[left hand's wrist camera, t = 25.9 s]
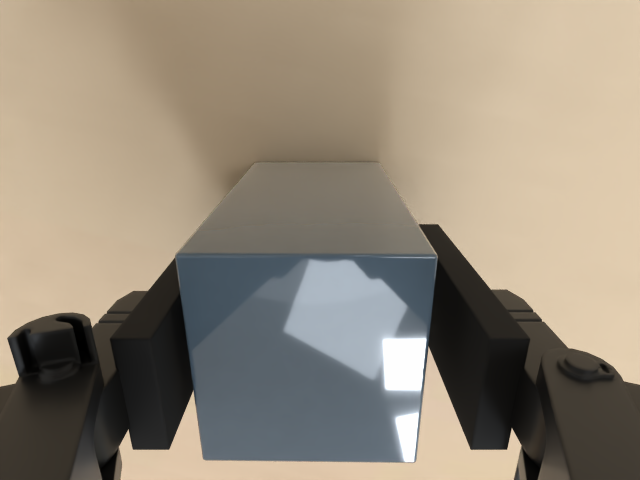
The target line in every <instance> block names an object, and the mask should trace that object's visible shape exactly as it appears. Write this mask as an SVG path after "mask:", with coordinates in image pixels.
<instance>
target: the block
mask: <svg viewBox="0 0 640 480" xmlns="http://www.w3.org/2000/svg"><path fill="white" fill-rule="evenodd" d="M175 258H176V266H177V273H178V280H179V288H180V295H181V302H182V309H183V317H184V324H185V331H186V339H187V346H188V353H189V361H190V368H191V375H192V382H193V390H194V397H195V404H196V412H197V419H198V426H199V434H200V441H201V448H202V455H203V459H204V460H209V461H296V462H383V463H414V462H416V459H417V450H418V440H419V431H420V421H421V412H422V402H423V393H424V383H425V374H426V364H427V355H428V345H429V336H430V326H431V317H432V307H433V298H434V288H435V279H436V269H437V260H438V256H437V254H436V252H435V251H434V249H433V247H432V246H431V244H430V243H429V241H428V239H427V238H426V236H425V235H424V233H423V231H422V230H421V228H420V227H419V225H418V223H417V222H416V220H415V219H414V217H413V215H412V214H411V212H410V211H409V209H408V207H407V206H406V204H405V202H404V201H403V199H402V198H401V196H400V194H399V193H398V191H397V190H396V188H395V186H394V185H393V183H392V182H391V180H390V178H389V177H388V175H387V174H386V172H385V170H384V169H383V167H382V166H381V164H380V163H379V162H255V163H254V164H253V165H252V166H251V167H250V169H249V170H248V171H247V172H246V173H245V174H244V176H243V177H242V178H241V179H240V180H239V181H238V182H237V184H236V185H235V186H234V187H233V188H232V189H231V191H230V192H229V193H228V194H227V195H226V196H225V197H224V199H223V200H222V201H221V202H220V203H219V204H218V206H217V207H216V208H215V209H214V210H213V211H212V212H211V214H210V215H209V216H208V217H207V218H206V219H205V221H204V222H203V223H202V224H201V225H200V226H199V227H198V229H197V230H196V231H195V232H194V233H193V234H192V236H191V237H190V238H189V239H188V240H187V241H186V242H185V244H184V245H183V246H182V247H181V248H180V249H179V251H178V252H177V253H176V255H175Z"/></svg>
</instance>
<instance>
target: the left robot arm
mask: <svg viewBox="0 0 640 480" xmlns="http://www.w3.org/2000/svg"><path fill="white" fill-rule="evenodd" d="M418 225H419V227H420V228H421V230H422V231H423V233H424V235H425V236H426V238H427V239H428V241H429V243H430V244H431V246H432V247H433V249H434V251H435V252H436V254H437V256H438V260H437V269H436V279H435V288H434V298H433V307H432V317H431V326H430V336H429V348H430V350H431V353H432V355H433V358H434V360H435V363H436V365H437V368H438V370H439V373H440V375H441V377H442V380H443V382H444V385H445V387H446V390H447V392H448V395H449V397H450V400H451V402H452V404H453V407H454V409H455V412H456V414H457V417H458V419H459V422H460V424H461V427H462V429H463V432H464V434H465V436H466V439H467V441H468V444H469V446H470V449H471V450H507V447H508V443H509V438H510V433H511V428H512V429H513V430H514V432H515V434H516V436H517V438H518V439H519V441H520V443H521V445H522V446H521V450H520V455H519V459H518V463H517V468H516V472H515V477H514V480H640V385H638V384H633V383H628V382H624V381H623V379H622V377H621V376H620V374H619V373H618V372H617V371H616V370H615V368H614V367H613V366H611V365H610V364H608V363H607V362H605V361H604V360H602V359H601V358H598V357H596V356H594V355H592V354H589V353H587V352H583V351H579V350H575V349H569V348H568V347H567V346H566V345H565V344H564V343H563V342H562V341H561V340H560V339H559V338H558V337H557V335H556V334H555V333H554V332H553V331H552V330H551V329H550V328H549V327H548V326H547V325H546V324H545V322H542V319H541V318H540V317H539V316H538V315H537V314H536V313H535V312H533V309H532V308H531V307H530V306H529V305H528V304H527V303H526V302H525V301H524V300H523V299H522V298H520V297H518V296H517V295H515V294H513V293H512V292H510V291H508V290H491V289H490V288H489V287H488V286H487V284H486V283H485V282H484V281H483V280H482V278H481V277H480V276H479V275H478V273H477V272H476V271H475V270H474V268H473V267H472V266H471V265H470V263H469V262H468V261H467V260H466V258H465V257H464V256H463V255H462V254H461V252H460V251H459V250H458V249H457V247H456V246H455V245H454V244H453V242H452V241H451V240H450V239H449V237H448V236H447V235H446V234H445V233H444V231H443V230H442V229H441V228H440V226H439V225H438V224H418ZM7 339H8V342H9V345H10V349H11V352H12V355H13V358H14V361H15V365H16V368H17V371H18V374H19V378H18V380H17V382H16V384H12V385H7V386H2V387H0V480H120V477H121V469H122V461H121V455H120V450H119V445H120V444H121V442H122V440H123V438H124V436H125V434H126V433H127V431H128V429H129V433H130V438H131V443H132V447H133V450H169V449H170V446H171V444H172V441H173V439H174V436H175V434H176V432H177V429H178V427H179V424H180V422H181V419H182V417H183V414H184V412H185V409H186V407H187V404H188V402H189V400H190V397H191V395H192V392H193V382H192V375H191V368H190V361H189V353H188V346H187V339H186V331H185V324H184V317H183V309H182V302H181V295H180V288H179V280H178V273H177V266H176V258H174V260H173V261H172V262H171V263H170V265H169V266H168V267H167V268H166V270H165V271H164V272H163V273H162V275H161V276H160V277H159V278H158V279H157V281H156V282H155V283H154V284H153V286H152V287H151V288H150V289H149V291H133V292H131V293H129V294H128V295H126V296H124V297H123V298H121V299H119V300H117V301H116V302H115V304H114V305H113V306H112V307H111V308H110V309H109V310H108V311H107V314H104V316H103V317H102V318H101V319H100V320H99V323H96V324H95V325H94V327H93V328H92V326H91V322H90V319H89V318H88V317H86V316H85V315H84V314H78V313H59V314H54V315H50V316H45V317H42V318H39V319H36V320H34V321H31V322H29V323H27V324H25V325H23V326H21V327H20V328H18V329H16V330H15V331H14V332H13V333H12V334H11V335H10V336H9V337H8V338H7Z"/></svg>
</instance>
